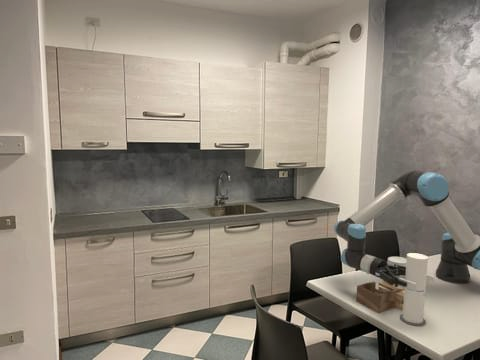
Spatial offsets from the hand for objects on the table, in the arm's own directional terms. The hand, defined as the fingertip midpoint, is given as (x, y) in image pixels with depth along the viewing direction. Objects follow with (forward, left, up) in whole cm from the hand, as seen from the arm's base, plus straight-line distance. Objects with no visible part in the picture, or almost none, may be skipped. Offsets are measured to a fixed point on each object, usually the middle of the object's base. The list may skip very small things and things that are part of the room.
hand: (425, 283), depth 132 cm
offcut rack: (+7, -16, -16) cm, 24 cm away
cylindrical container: (+2, -3, -16) cm, 16 cm away
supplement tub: (-6, -30, -16) cm, 35 cm away
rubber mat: (+2, -3, -16) cm, 16 cm away
